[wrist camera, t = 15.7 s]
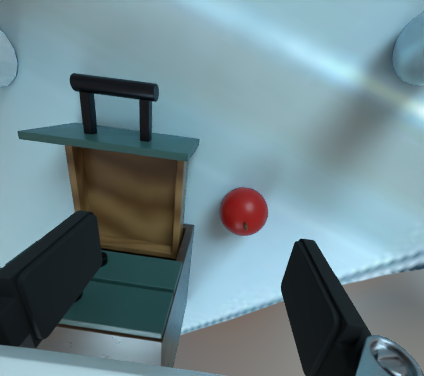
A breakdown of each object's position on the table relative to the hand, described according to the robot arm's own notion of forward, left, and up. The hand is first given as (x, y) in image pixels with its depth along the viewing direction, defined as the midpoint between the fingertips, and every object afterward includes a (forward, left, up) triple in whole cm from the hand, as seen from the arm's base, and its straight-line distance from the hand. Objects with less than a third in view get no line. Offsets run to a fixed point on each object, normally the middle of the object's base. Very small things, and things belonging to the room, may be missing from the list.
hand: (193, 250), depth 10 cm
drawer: (-6, -8, -18) cm, 20 cm away
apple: (+7, -2, -18) cm, 19 cm away
